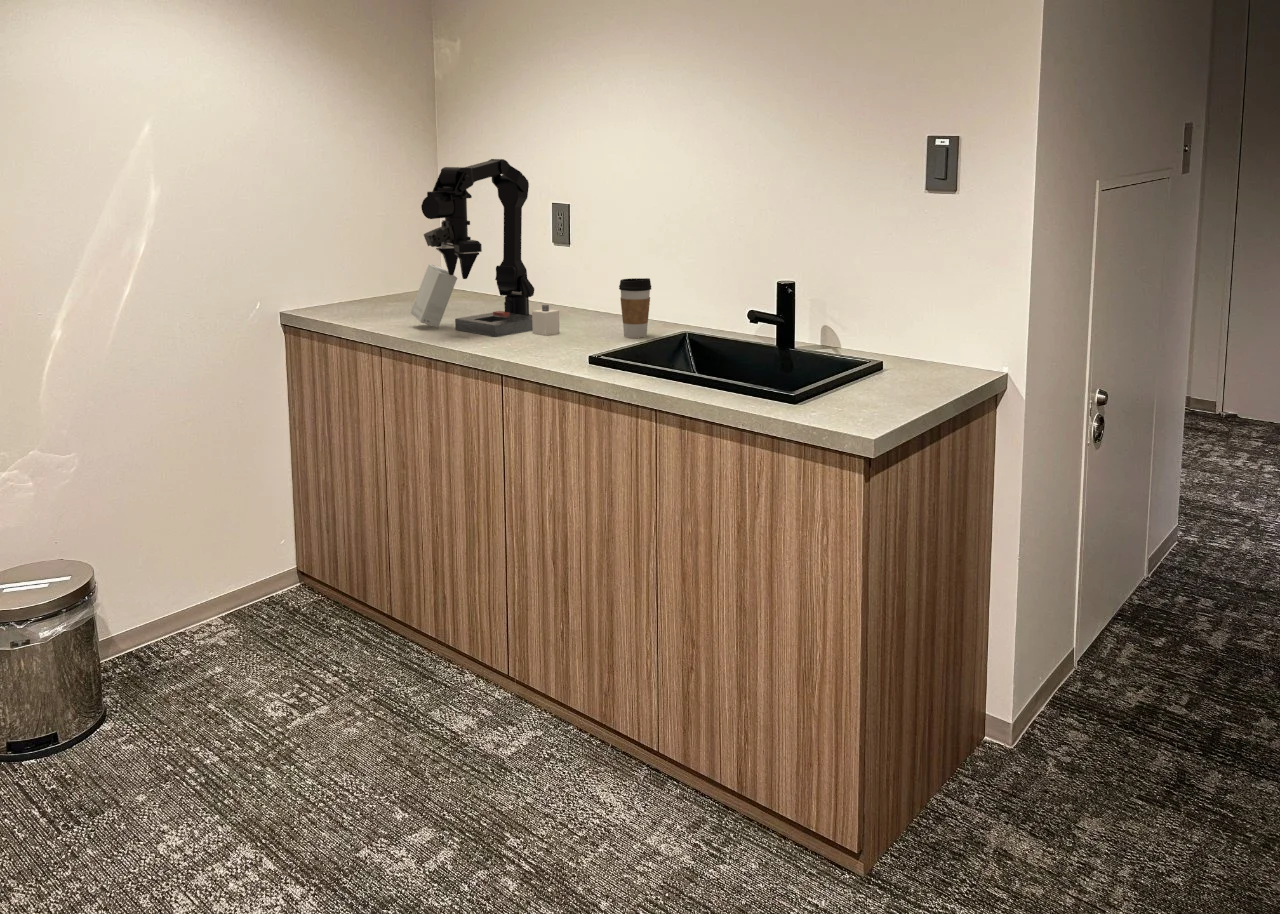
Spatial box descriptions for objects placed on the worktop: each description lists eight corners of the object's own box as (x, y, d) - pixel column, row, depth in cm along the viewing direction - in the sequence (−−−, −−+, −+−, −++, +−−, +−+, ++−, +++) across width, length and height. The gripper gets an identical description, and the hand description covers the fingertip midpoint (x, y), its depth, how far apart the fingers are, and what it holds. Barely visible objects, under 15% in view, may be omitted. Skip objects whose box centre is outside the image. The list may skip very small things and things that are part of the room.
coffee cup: (640, 340, 298) (640, 281, 293) (613, 337, 302) (612, 279, 298) (657, 335, 304) (657, 277, 300) (630, 332, 309) (630, 275, 304)
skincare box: (438, 328, 315) (459, 279, 311) (418, 322, 311) (440, 272, 307) (427, 317, 321) (448, 268, 317) (407, 311, 317) (428, 261, 314)
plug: (546, 331, 311) (545, 303, 309) (559, 333, 308) (558, 304, 306) (532, 333, 308) (531, 305, 306) (545, 335, 304) (545, 307, 302)
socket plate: (499, 322, 324) (499, 309, 323) (539, 328, 314) (539, 315, 313) (455, 329, 313) (454, 316, 312) (495, 336, 303) (495, 323, 302)
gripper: (413, 215, 306) (416, 274, 310) (440, 220, 291) (442, 283, 295) (453, 213, 311) (455, 272, 316) (481, 219, 296) (483, 280, 300)
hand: (458, 276), depth 307 cm, fingers open, 9 cm apart
